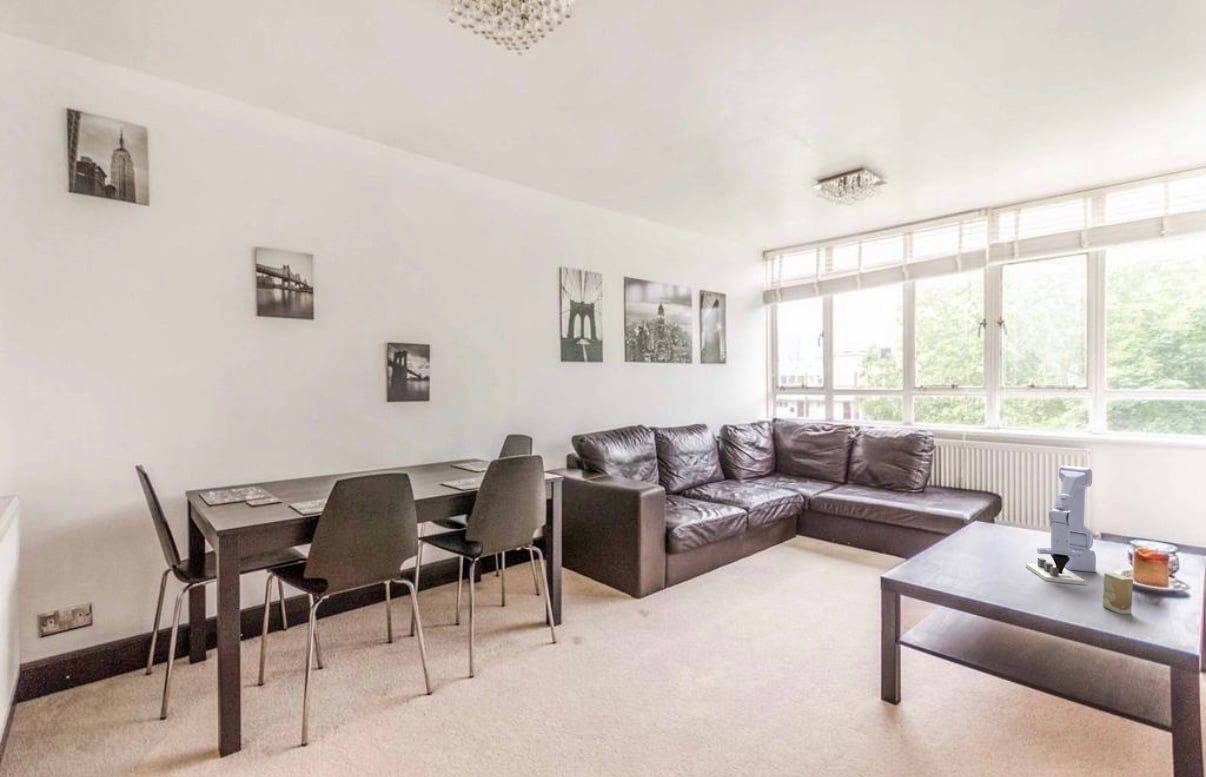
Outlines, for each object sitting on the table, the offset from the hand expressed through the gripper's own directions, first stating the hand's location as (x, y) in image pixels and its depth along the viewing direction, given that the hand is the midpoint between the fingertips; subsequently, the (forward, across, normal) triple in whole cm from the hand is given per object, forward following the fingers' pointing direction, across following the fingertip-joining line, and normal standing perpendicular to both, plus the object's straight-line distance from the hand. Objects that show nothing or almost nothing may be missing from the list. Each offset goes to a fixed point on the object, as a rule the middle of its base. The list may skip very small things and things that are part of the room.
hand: (1059, 573), depth 214 cm
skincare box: (+3, +4, -29) cm, 29 cm away
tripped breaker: (+1, -2, 0) cm, 2 cm away
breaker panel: (+3, +1, +6) cm, 6 cm away
